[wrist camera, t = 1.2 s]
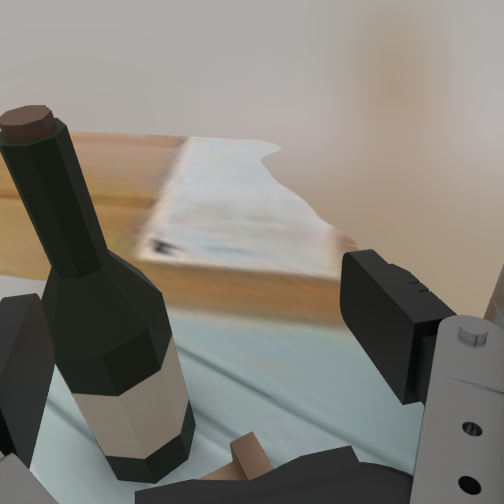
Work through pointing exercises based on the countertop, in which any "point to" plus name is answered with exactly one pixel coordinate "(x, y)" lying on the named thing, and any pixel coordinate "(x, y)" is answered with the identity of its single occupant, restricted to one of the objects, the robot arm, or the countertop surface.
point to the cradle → (243, 461)
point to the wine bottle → (99, 309)
